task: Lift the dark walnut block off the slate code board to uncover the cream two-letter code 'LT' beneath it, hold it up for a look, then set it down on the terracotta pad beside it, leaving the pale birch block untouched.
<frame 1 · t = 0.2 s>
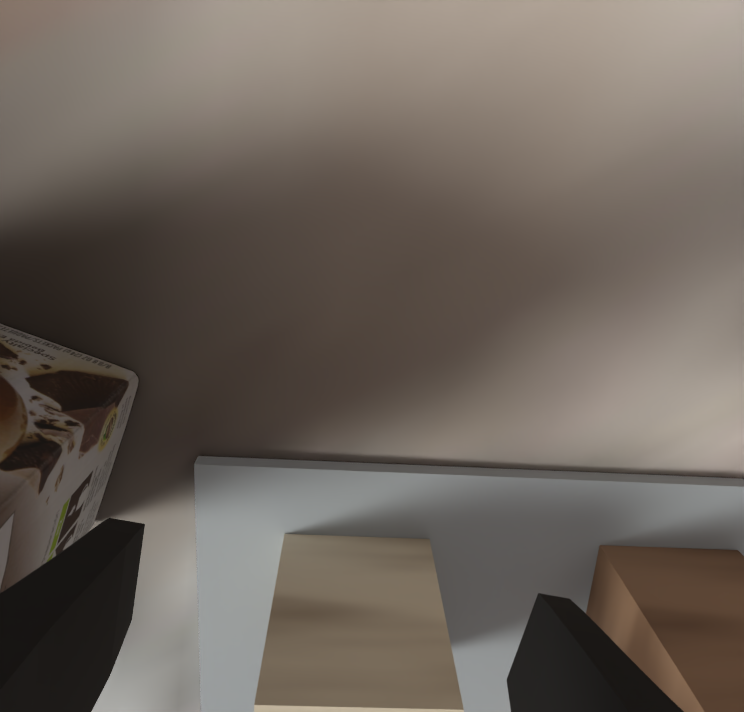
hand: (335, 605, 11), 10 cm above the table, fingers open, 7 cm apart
code board: (490, 665, 24), on the table
walnut block: (655, 606, 23), point 1 cm above the table, touching code board
birch block: (353, 596, 22), point 1 cm above the table, touching code board
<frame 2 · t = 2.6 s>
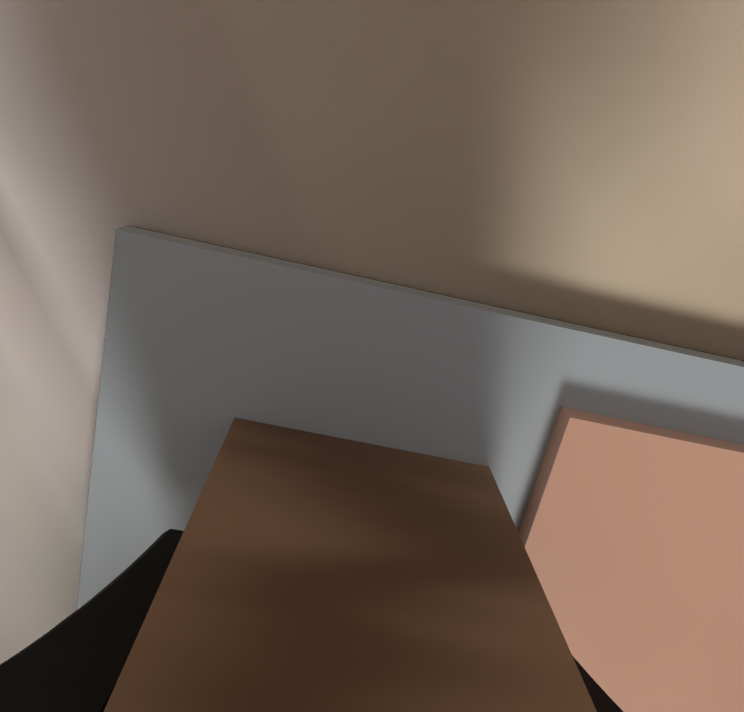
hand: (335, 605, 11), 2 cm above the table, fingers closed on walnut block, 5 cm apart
walnut block: (337, 552, 13), point 1 cm above the table, touching code board, gripper
terracotta pad: (679, 611, 14), resting on code board
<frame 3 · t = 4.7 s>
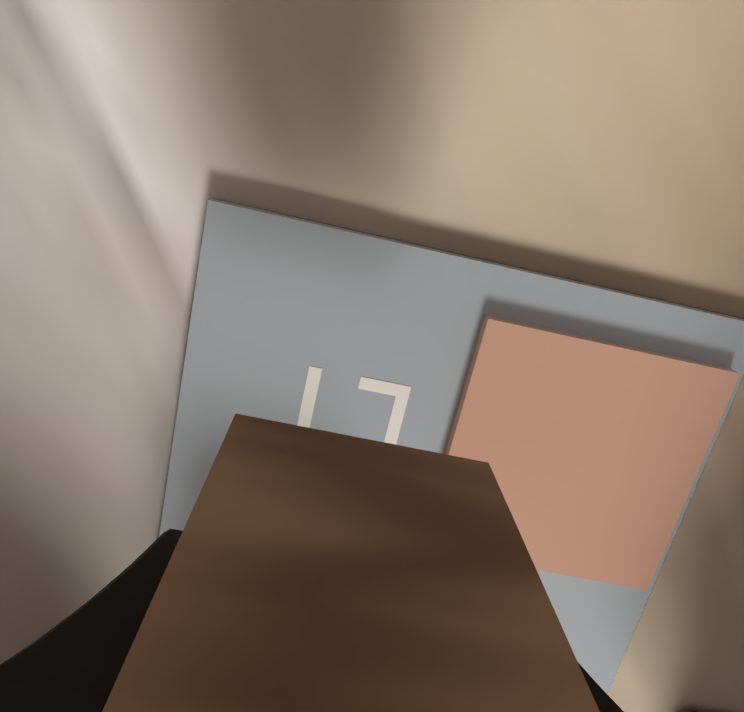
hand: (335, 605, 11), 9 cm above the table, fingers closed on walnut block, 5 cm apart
code board: (407, 566, 22), on the table
walnut block: (337, 547, 13), point 8 cm above the table, touching gripper
terracotta pad: (569, 457, 20), resting on code board
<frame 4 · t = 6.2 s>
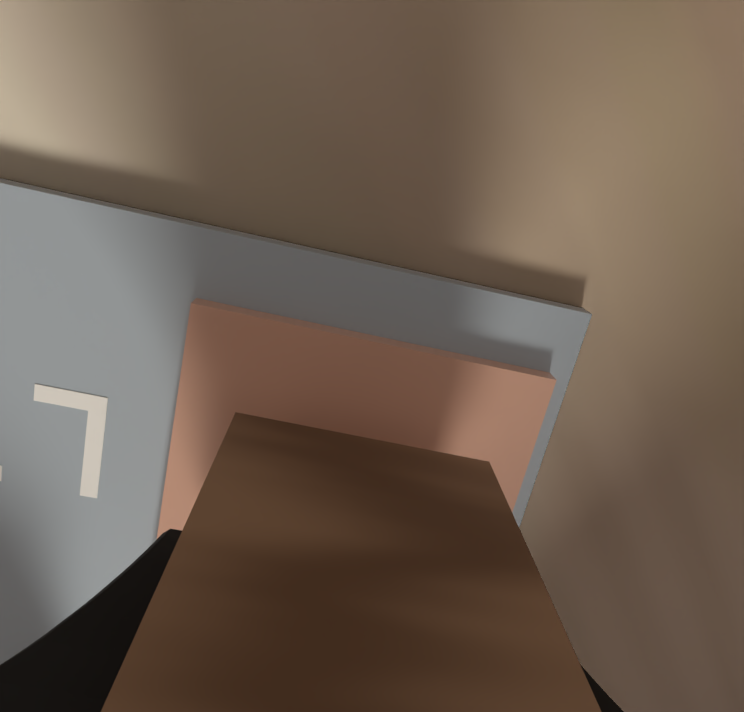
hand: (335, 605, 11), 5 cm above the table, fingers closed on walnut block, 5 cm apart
code board: (151, 632, 17), on the table
walnut block: (338, 546, 13), point 3 cm above the table, touching gripper
terracotta pad: (340, 493, 15), resting on code board
when the fingers open (4 cm above the table, at t = 7.3 s): walnut block drops 1 cm, resting on terracotta pad.
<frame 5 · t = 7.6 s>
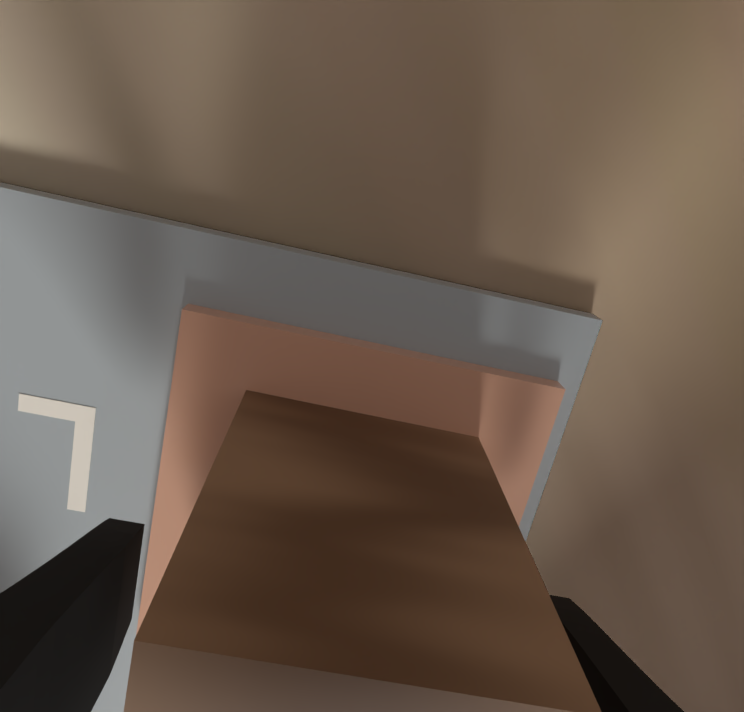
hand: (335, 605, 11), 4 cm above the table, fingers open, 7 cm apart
code board: (143, 650, 16), on the table
walnut block: (339, 515, 14), point 1 cm above the table, touching terracotta pad
terracotta pad: (339, 506, 14), resting on code board
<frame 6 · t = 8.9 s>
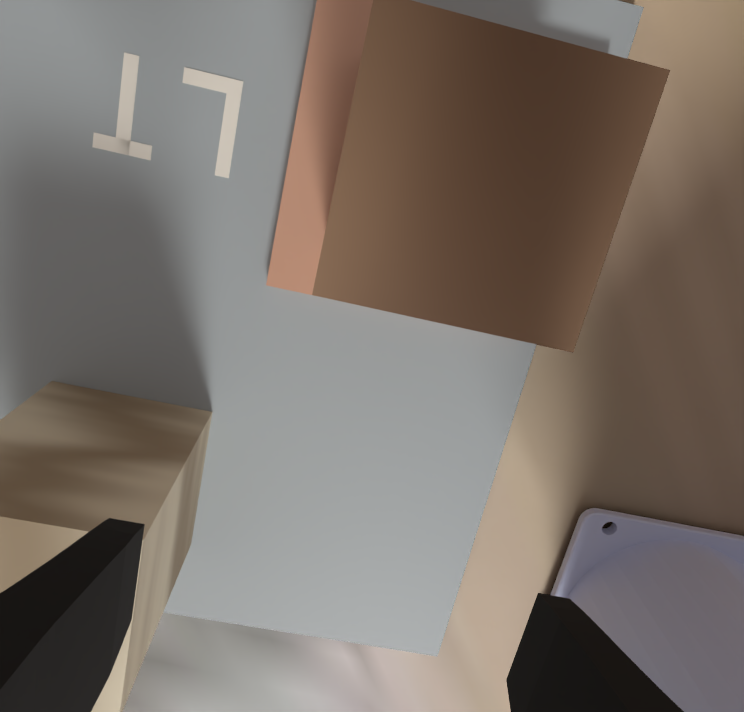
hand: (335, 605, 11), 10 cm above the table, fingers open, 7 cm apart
code board: (262, 324, 20), on the table
walnut block: (433, 174, 18), point 1 cm above the table, touching terracotta pad
birch block: (124, 466, 20), point 1 cm above the table, touching code board
terracotta pad: (430, 177, 18), resting on code board
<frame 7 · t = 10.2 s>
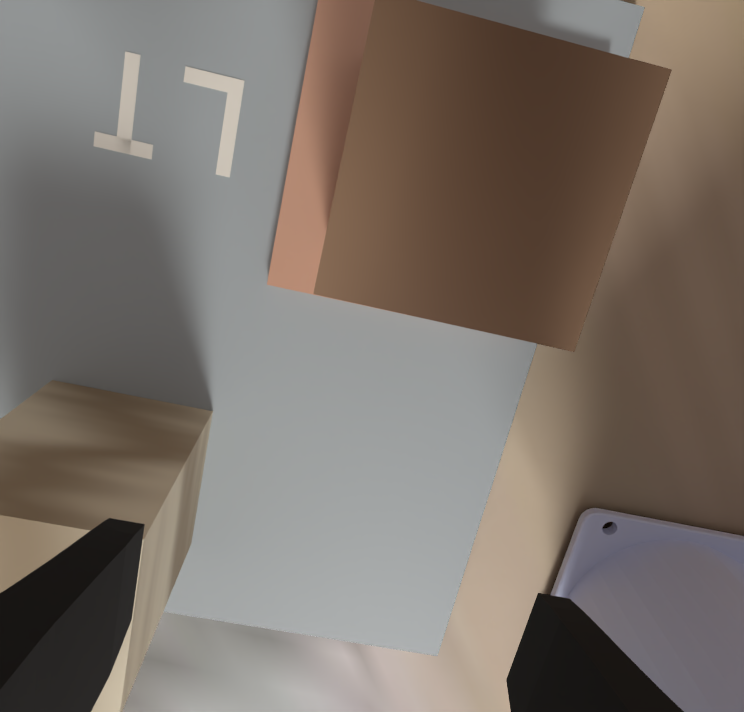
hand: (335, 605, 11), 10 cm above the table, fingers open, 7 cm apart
code board: (263, 323, 20), on the table
walnut block: (434, 174, 18), point 1 cm above the table, touching terracotta pad
birch block: (125, 465, 20), point 1 cm above the table, touching code board
terracotta pad: (431, 176, 18), resting on code board
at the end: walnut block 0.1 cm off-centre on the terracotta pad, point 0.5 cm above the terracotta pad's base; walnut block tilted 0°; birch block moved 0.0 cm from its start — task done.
